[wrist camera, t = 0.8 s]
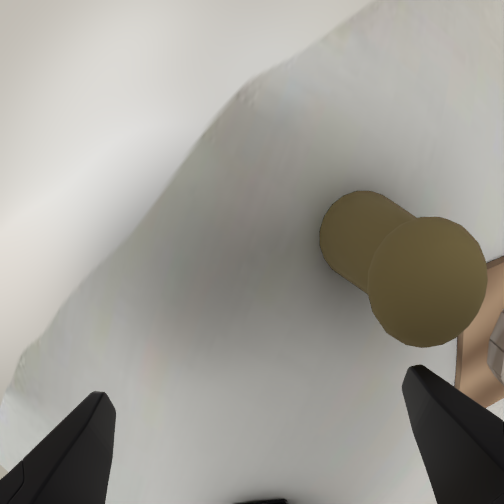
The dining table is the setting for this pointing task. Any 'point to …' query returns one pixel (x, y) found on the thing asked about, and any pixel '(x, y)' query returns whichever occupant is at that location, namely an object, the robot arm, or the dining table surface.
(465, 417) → the robot arm
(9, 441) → the dining table surface
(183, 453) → the dining table surface
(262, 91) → the dining table surface
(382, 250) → the cork
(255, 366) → the dining table surface
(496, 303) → the socket holder
